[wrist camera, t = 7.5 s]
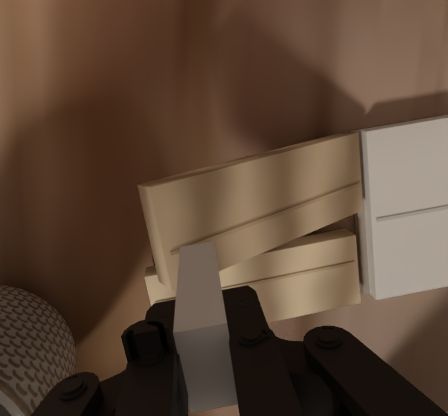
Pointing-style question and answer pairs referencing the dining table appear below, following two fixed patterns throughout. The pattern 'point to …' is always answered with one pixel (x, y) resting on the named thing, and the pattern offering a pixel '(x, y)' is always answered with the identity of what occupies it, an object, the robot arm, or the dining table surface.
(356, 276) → the plank
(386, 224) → the floor board
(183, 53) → the dining table surface
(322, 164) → the plank
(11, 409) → the planter
